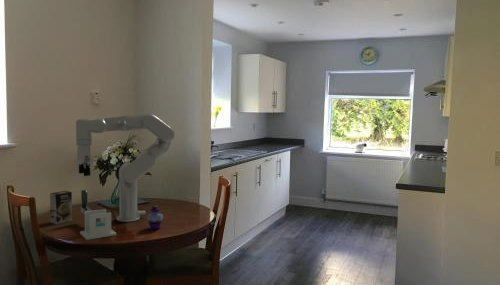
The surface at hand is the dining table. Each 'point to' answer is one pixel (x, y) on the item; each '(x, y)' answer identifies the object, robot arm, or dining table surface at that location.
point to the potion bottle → (154, 218)
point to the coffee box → (60, 207)
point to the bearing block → (99, 231)
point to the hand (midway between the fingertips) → (84, 174)
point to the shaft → (85, 202)
